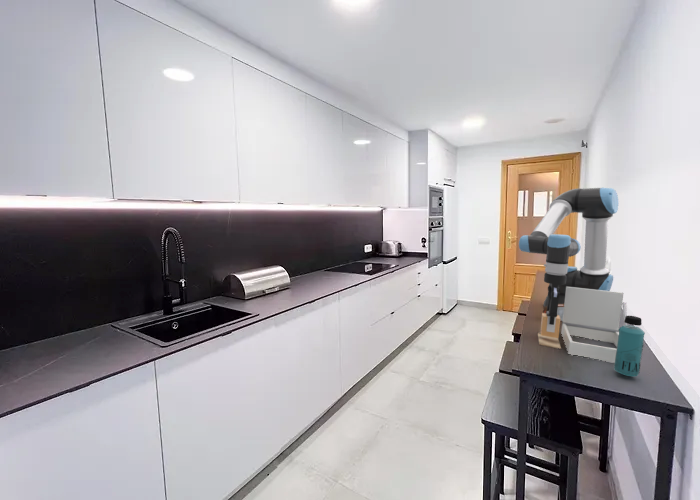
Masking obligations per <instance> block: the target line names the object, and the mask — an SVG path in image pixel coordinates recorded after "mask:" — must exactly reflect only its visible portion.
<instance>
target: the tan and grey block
mask: <svg viewBox="0 0 700 500" xmlns="http://www.w3.org/2000/svg"><path fill="white" fill-rule="evenodd" d="M547 314H549V313H548V312H546V313H543V312H542V313H541V323H540V329H539V330H540V332H539V333H541V335H542V336H548V337H554V338H558V339H559V336H560V329H561V327H560V326H561V322H560V320H561V319H560V316H559V315H557V317H556V323H555V332H547V331H546V330H547V320H548V316H547Z"/></svg>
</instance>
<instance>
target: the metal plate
mask: <svg viewBox="0 0 700 500" xmlns="http://www.w3.org/2000/svg"><path fill="white" fill-rule="evenodd" d="M537 338H538V344H539V346H543V347H546V348H547V347H548V348H551V349H552V348H553V349H558V348H559V350H562V347H561V344H560V341H559V338H554V337H548V336H542V335H541V332H537Z"/></svg>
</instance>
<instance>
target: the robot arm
mask: <svg viewBox="0 0 700 500" xmlns="http://www.w3.org/2000/svg"><path fill="white" fill-rule="evenodd" d="M618 211H619V196H618V193H617V191H616V190H615V189H614V188H612V187H588V188H587V187H586V188H584V187H583V188H573V189H569V190H567V191H564V192H563V193H561V194H559V195H558V196H557V197H555V198H554V199H553V200H552V201H551V203H550V204H549V209H548V210H547V212H546V213H545V214H544V216H543V217H542V219H541V220H540V221H539V222H538V224H537V226H535V228H534V229H533V230H532V232H531V233H530V234H529V235H528V234H527V235H526V234H525V235H522V236H520V238H519V240H518V248H519V251H521V252H524V253H530V254H539V255H546V257H545V258H546V259H545V263H544V264H543V267H544V272H545V273H544V277H543V281H544V283H546V284H549V285H548V286H547V295H546V297H545V299H544V301H543V307H544V308H545V307H546V306H547V312H548V313H549V314H547V316H548V320H547V330H546V331H547V332H555V323H556V317H557V310H558V304H564V303H565V294H566V287H575V288H585V289H594V290H603V291H611V289H612V285H613V282H614V275H613V274H610V270H609V269H608V268H607V267H606V264H607V263H606V262H607V250H608V249H607V247H608V231H609V230H608V229H609V228H608V227H609V220H610V219H611V218H612V217H614V214H616V213H617V212H618ZM572 213H573V214H574V213H579V214H582V215H581V217H582V219H584V220H585V232H584V233H585V234H584V257H583V266H582V267H580V268H579V270H578V267H577V266H573V265H572V266H569V259H570V257H574V256H576V255H577V254H579V252H580V251H581V249H582V248H581V243H580V242H579V241H578V240H577V239H576V238H572V237H571V236H570V235H568V234H554V233H555V232H556V230H557V229H558V228H559V226H560V225H561V224H562V222H563V220H564V219H565V218H566V217H568V216H569V215H570V214H572Z"/></svg>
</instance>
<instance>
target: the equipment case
mask: <svg viewBox="0 0 700 500" xmlns="http://www.w3.org/2000/svg"><path fill="white" fill-rule="evenodd" d="M623 298H624V292H621V291H611V290H610V291H603V290H594V289H585V288H575V287H566V294H565V303H564V312H563V321H562V322H561V333H560V335H561V334H562V335H561V337H563V338H562V340H564V341H563V343H564V342H565V343H564V346H565V345H566V346H565V349H566V348H567V349H566V352H567V351H568V352H567V354H571V355H570V356H573V355H578V356H584V357H590V358H594V359H599V360H598V361H600V360H602V361H601V362H605V361H606V362H607V363H610V364H611V363H612V364H615V358H616V356H615V355H616V351H617V344H618V336H619V328H620V323H621V316H622V319H623V320H622V321H623V326H624V325H629V324H627V323H625V322H624V321H625V317H626V316H628V309H627V308H628V307H627V306H628V305H627V302H623V301H624V299H623ZM570 335H575V336H580V337H585V338H589V339H588V340H592V339H594V340H593V341H598V340H600V341H599V342H603V343H604V342H605V343H610V344H613V345H615V347H616V348H614V347H609V346H600V345H596V344H589V343H583V342H580V341H579V342H578V341H573V338H572V336H570ZM585 338H584V339H585ZM578 356H577V357H578ZM594 359H593V360H594Z"/></svg>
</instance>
